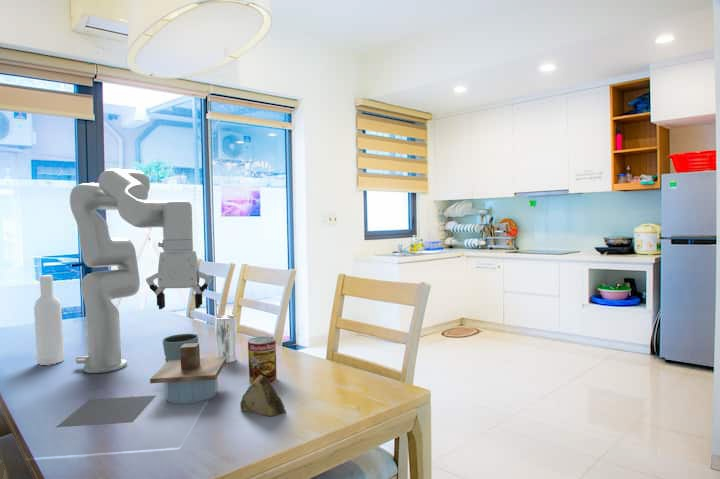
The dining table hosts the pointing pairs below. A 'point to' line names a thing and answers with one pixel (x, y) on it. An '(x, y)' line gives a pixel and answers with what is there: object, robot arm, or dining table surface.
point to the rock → (262, 398)
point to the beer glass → (226, 336)
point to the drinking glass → (177, 345)
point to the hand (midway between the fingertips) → (180, 307)
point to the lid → (189, 367)
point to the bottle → (48, 325)
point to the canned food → (262, 358)
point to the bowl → (190, 391)
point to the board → (108, 411)
